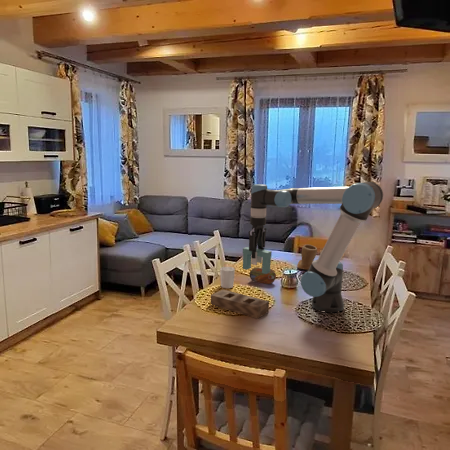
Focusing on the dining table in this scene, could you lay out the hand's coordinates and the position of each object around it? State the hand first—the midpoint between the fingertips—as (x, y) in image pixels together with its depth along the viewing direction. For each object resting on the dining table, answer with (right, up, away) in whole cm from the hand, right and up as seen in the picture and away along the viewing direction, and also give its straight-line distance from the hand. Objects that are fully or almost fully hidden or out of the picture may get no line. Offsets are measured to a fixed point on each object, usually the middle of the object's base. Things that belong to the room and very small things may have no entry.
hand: (256, 263), depth 200 cm
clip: (0, -4, +1) cm, 4 cm away
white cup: (-14, -15, +22) cm, 30 cm away
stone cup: (+37, -9, +60) cm, 71 cm away
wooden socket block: (-9, -20, -9) cm, 24 cm away
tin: (+6, -14, +29) cm, 33 cm away
